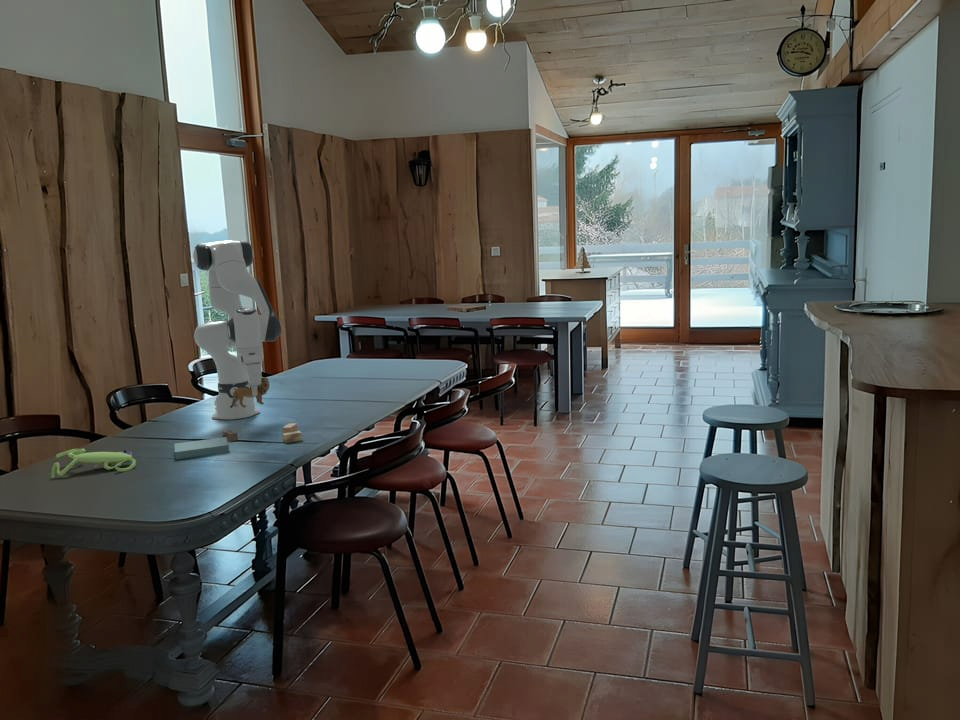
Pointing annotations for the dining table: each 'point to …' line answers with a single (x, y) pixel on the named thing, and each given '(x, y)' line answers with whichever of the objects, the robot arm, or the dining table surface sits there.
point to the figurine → (96, 459)
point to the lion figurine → (247, 392)
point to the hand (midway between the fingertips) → (253, 394)
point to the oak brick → (292, 436)
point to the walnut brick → (230, 435)
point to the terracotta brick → (290, 428)
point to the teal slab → (201, 448)
